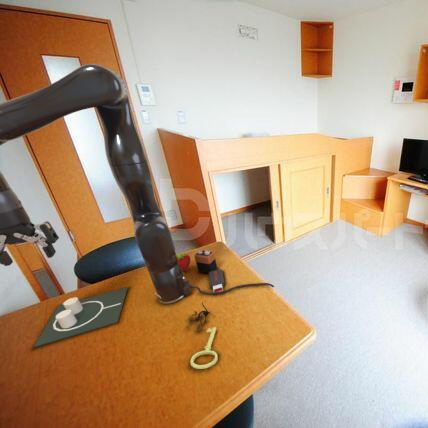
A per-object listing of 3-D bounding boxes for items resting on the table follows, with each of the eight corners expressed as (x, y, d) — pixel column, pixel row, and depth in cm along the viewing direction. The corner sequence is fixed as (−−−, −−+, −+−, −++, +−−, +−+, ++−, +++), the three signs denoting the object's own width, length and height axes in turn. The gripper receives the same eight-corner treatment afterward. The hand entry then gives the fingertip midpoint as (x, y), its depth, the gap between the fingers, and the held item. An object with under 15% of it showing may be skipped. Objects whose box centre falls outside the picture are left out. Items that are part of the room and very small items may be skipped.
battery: (211, 274, 102) (207, 255, 98) (198, 272, 103) (193, 253, 99) (217, 268, 106) (213, 249, 101) (204, 266, 107) (199, 247, 103)
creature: (194, 338, 76) (216, 320, 80) (186, 329, 73) (210, 310, 77) (184, 324, 81) (206, 307, 85) (177, 315, 78) (200, 298, 82)
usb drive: (222, 272, 103) (221, 267, 102) (225, 290, 94) (224, 284, 93) (209, 275, 101) (208, 270, 100) (211, 294, 92) (210, 288, 90)
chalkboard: (128, 288, 94) (127, 287, 93) (117, 322, 79) (117, 321, 79) (59, 306, 85) (58, 304, 85) (34, 348, 71) (33, 346, 71)
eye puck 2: (78, 317, 80) (72, 308, 78) (74, 325, 77) (68, 315, 75) (64, 321, 79) (58, 311, 77) (59, 330, 76) (53, 320, 74)
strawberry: (173, 276, 100) (167, 257, 96) (183, 265, 107) (177, 246, 103) (186, 277, 100) (181, 257, 96) (196, 265, 107) (191, 247, 103)
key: (217, 329, 78) (216, 325, 77) (218, 364, 67) (217, 360, 66) (192, 337, 75) (191, 332, 74) (190, 374, 65) (188, 370, 64)
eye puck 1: (84, 305, 85) (79, 295, 83) (81, 312, 82) (75, 303, 80) (71, 308, 84) (65, 299, 82) (67, 316, 81) (61, 306, 79)
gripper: (-57, 219, 54) (-15, 275, 61) (30, 208, 60) (59, 260, 67) (-33, 207, 60) (2, 259, 67) (44, 198, 66) (69, 247, 73)
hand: (31, 260), depth 67 cm, fingers open, 8 cm apart
